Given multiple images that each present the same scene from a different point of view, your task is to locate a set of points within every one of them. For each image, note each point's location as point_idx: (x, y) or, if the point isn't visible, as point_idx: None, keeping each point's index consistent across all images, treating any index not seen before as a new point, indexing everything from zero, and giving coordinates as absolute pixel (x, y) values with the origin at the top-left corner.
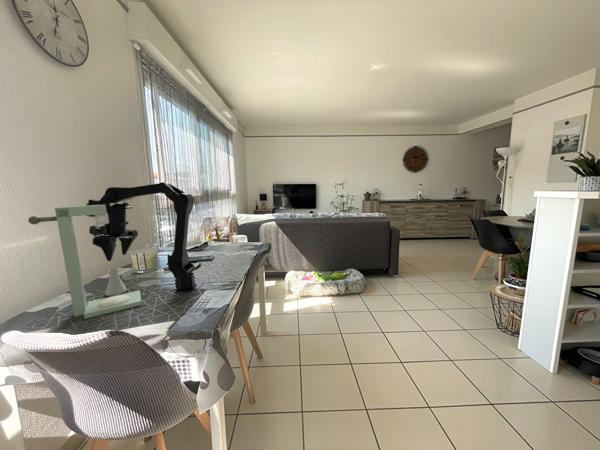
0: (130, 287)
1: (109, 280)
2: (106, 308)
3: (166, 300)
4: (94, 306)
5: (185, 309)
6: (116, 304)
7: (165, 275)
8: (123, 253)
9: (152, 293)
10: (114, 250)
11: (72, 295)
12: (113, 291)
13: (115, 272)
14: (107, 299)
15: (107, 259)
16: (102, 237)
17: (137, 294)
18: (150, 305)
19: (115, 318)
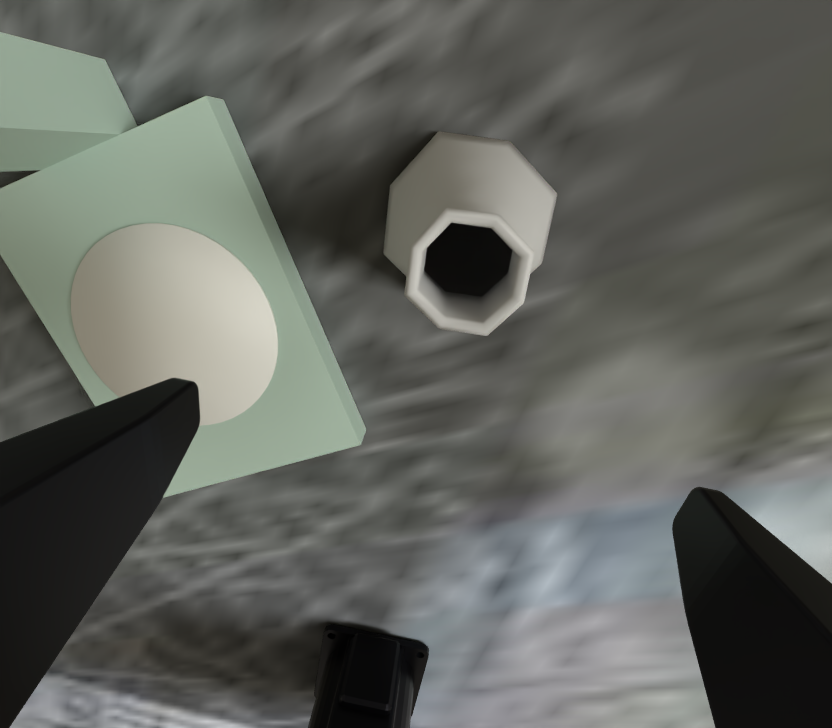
0: (572, 302)
1: (442, 199)
2: (55, 325)
3: (211, 592)
4: (94, 214)
5: (88, 673)
6: (103, 372)
7: (786, 518)
8: (697, 520)
9: (351, 503)
10: (6, 720)
11: None
12: (391, 237)
13: (438, 301)
14: (207, 264)
15: (148, 398)
16: None
17: (276, 450)
18: (155, 529)
19: (4, 396)
